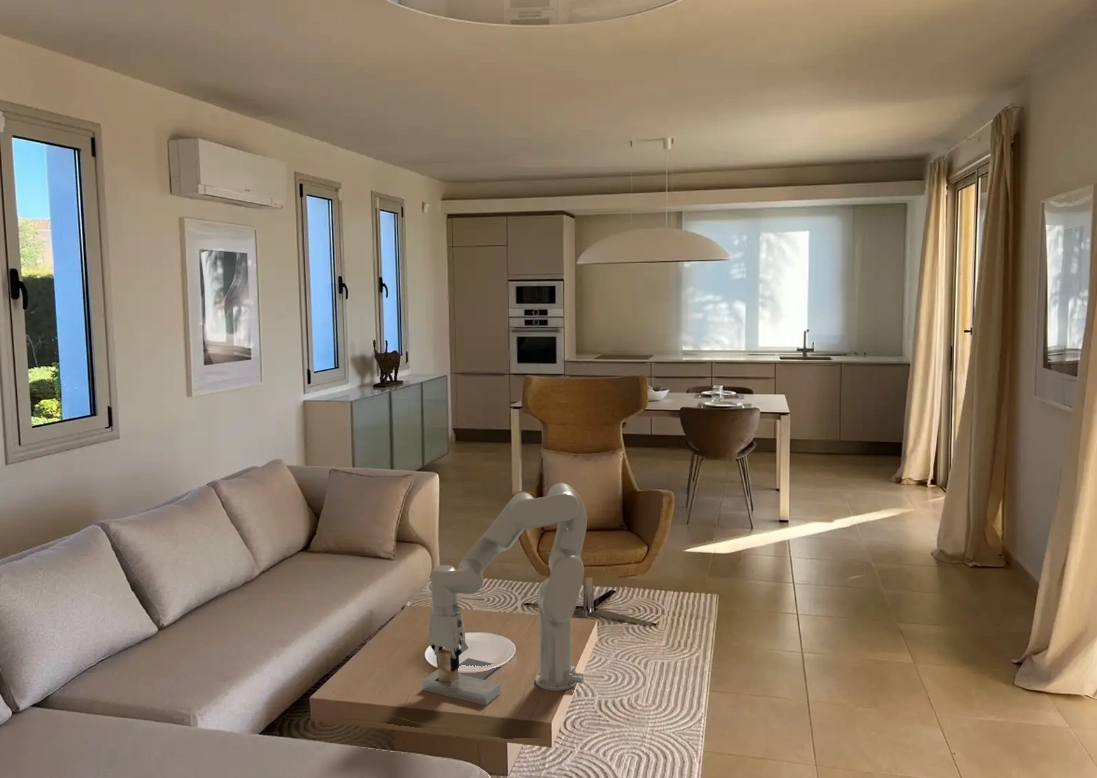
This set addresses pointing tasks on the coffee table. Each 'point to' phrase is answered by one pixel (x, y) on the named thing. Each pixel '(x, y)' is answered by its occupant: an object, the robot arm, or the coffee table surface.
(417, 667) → the coffee table surface
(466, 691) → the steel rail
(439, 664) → the birch peg
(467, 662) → the charcoal mat
